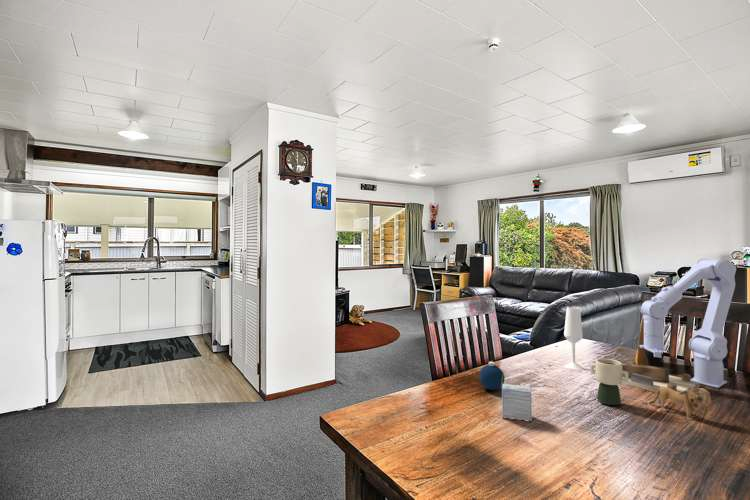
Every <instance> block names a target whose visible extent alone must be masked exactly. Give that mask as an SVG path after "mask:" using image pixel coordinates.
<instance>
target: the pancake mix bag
mask: <svg viewBox="0 0 750 500" xmlns="http://www.w3.org/2000/svg"><path fill="white" fill-rule="evenodd" d="M648 300H650V301H651V298H649V299H647V300H646V301H648ZM639 328H640V329H639V334H638V344H637V345H638V346H637V350H636V355H635V361H634V362H636V365H645V366H648V362H647V358H646V356H645V354H644V352H643V351H649V350H646V349H644V348H640V345H644V319H643V316H642V318H641V321H640V327H639Z"/></svg>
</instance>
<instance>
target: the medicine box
mask: <svg viewBox="0 0 750 500" xmlns="http://www.w3.org/2000/svg"><path fill="white" fill-rule="evenodd" d="M532 396H533V395H532V388H531V386H527V385H518V384H508V383H504V384H502V387H501V408H502V409H501V412H502V413H501V418H502V417H507V418H514V419H521V420H528V421H527V422H529V421H532V420H533V415H532V414H533V413H532V401H533V400H532V399H533V398H532ZM521 420H520V421H521ZM532 422H533V421H532Z"/></svg>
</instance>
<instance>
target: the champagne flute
mask: <svg viewBox="0 0 750 500" xmlns="http://www.w3.org/2000/svg"><path fill="white" fill-rule="evenodd" d="M581 315H582V314H581V308H580V307H576V306H575V307H574V306H567V307H566V310H565V319H564V320H565V322H564V331H563V335H564V338H565V339H566V340H567V341H568V342H569V343H571V362H569V363H566V364H565V365H564V368H566V369H568V370H575V371H581V370H583V366H581V365H579V364H578V363H576V344H577V343H578V342H580V341H581V340H582V339H583V337H584V335H583V326H582V316H581Z"/></svg>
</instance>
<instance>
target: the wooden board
mask: <svg viewBox="0 0 750 500" xmlns="http://www.w3.org/2000/svg"><path fill="white" fill-rule="evenodd" d="M621 363H622V370H623V371H627V372H628V377H631V374H632V373H636V374H640V375H644V376H648V377H652V378H653V380H657V381H665V382H669V375H670V369H668V367H667V366H666V367H665V366H662V367H661V366H659V367H655V366H645V365H636V364H629V363H626V362H621ZM622 376H625V374H622Z"/></svg>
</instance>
